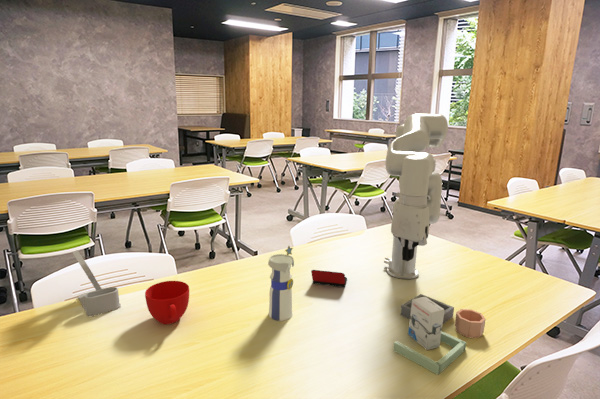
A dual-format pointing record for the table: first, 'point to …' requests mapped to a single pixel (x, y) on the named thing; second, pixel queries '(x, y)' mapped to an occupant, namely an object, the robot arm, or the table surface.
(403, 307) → the tray
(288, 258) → the water bottle
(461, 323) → the cup
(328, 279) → the handheld game console
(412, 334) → the ink box
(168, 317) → the ceramic cup
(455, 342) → the pale green horseshoe bracket
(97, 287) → the grey hollow angled piece
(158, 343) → the table surface
